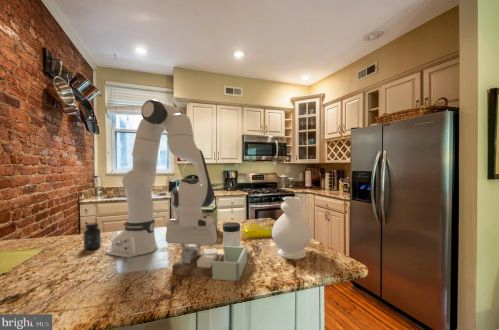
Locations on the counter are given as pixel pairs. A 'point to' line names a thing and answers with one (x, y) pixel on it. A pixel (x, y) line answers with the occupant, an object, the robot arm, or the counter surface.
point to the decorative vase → (291, 230)
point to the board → (194, 267)
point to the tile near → (205, 261)
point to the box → (230, 264)
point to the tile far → (210, 252)
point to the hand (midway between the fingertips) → (191, 254)
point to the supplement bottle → (92, 237)
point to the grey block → (189, 254)
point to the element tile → (256, 230)
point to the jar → (231, 234)
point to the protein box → (211, 213)
